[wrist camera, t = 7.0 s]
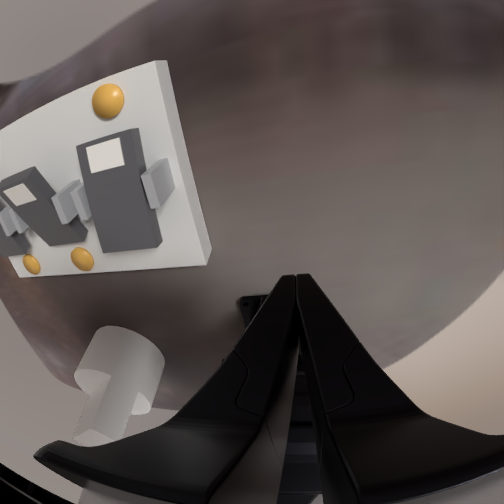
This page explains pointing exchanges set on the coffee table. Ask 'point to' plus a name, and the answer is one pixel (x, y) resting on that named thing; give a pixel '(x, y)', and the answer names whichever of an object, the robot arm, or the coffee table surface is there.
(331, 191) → the coffee table surface
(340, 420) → the robot arm
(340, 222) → the coffee table surface
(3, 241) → the switch
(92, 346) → the cylinder with rectangular tab
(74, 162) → the switch panel
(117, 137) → the switch
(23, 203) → the switch
